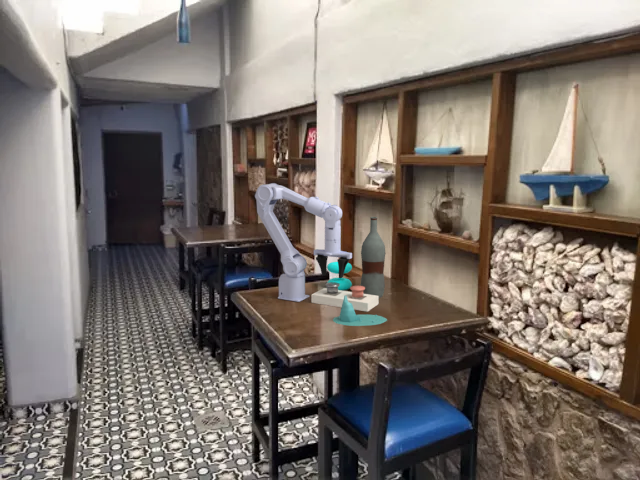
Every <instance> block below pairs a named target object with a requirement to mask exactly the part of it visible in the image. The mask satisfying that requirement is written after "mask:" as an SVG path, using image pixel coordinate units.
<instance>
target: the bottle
mask: <svg viewBox="0 0 640 480" xmlns="http://www.w3.org/2000/svg"><path fill="white" fill-rule="evenodd" d="M369 225H370V227H369V233H368V234H367V236H366V238H365V239H364V240H363V242H362V243H361V244H362V245H361V251H360V256H361V271H362V272H361V273H362V274H361V279H360V286H364V287H365V290H363V294H369V295H376V296H379V299H381V298H383V296H384V293H385V287H386V284H385V274H384V270H385V260H386V245H385V242H384V241H383V239H382V237H381V235H380V234H379V232H378V217H377V216H370V224H369Z"/></svg>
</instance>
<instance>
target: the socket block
mask: <svg viewBox="0 0 640 480" xmlns="http://www.w3.org/2000/svg"><path fill="white" fill-rule="evenodd" d="M344 295H346V296H347V299H348V302H350V303H352V305H353V308H354V311H360V312H361V311H362V312H366V313H368V312H370V311H371V310H372V309H373V308H375V307H376V306H378V305H379V304H380V303H379V302H380V301H379V299H380V298H379V296H376V295H369V294H363V297H360V298H356V297H352V291H348V290H338V293H336V294H329V293H327V287H323V288H321V289H320V290H318V291H316V292H314V293H312V294H311V297H310V298H311V303H312V304H317V305H318V304H319V305H324V306H331V307H337V308H342V304H343V300H344Z"/></svg>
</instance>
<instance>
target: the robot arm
mask: <svg viewBox="0 0 640 480" xmlns="http://www.w3.org/2000/svg"><path fill="white" fill-rule="evenodd" d="M254 198H255V200H256V212H257V215H258V216H259V218H260V220H261V222H262V224H263V225H264V227H265V229H266V231H267V232H268V234H269V236H270V238H271V240H272V242H273V243H274V244H275V247H276V249H277V250H278V252H279V254H280V262H281V264H282V270H283V272H284V273H282V274H280V276H279V278H278V297H277V299H279V300H285V301H292V302H298V303H300V302H302V301H303V300H306V299H308V298H309V297H310V295H309V294H306V273H305V270H306V269H307V268H306V267H307V266H308V261H307V259H306V258H305V257H304V256H303V255H302V254H301V253H300V251H299V250H297V249H296V248H295V247H294V246H293V244H292V242H291V240H290V239H289V237H288V236H287V233H286V232H285V230H284V229H283V227H282V224H281V223H280V222H279V220H278V218H277V216H276V214H275V213H274V209H275V205H276V204H277V201H279V200H283V199H284V200H286V201H290V202H292V203H295V204H297V205H299V206H302V207H304V210H305V212H308V213H310V214H312V215H314V216H316V217H319V218H321V219H323V221H324V249H313V256H316V257H315V260H316V262H317V264H318V265H319V268H320V272H321V276H323V277H325V276H326V275H327V271H328V269H327V265H328V258H329V257H331V258H332V257H333V258H337V261H336V262H338V266H339V274H338V278H344V274H345V273H344V271H345V268H346V265H347V263H349V261H350V259H352V258H353V253H352V252H347V251H343V250H342V249H341V245H342V243H341V240H342V238H341V235H342V233H341V232H342V231H341V229H342V227H341V219H342V217H343V210H342V208H341V207H340V206H339V205H337V204H332V202H329V201H328V202H326V201H324V200H322V199H320V197H319V196H310V197H307V196H304V195H302V194H300V193H298V192H296V191H294V190H293V189H290V188H288V187H286V186H284V185H279V184H277V183H275V182H272V183H268V184H266V183H265V184H261V185H259V186H258V187H257V189H256V191H255V194H254ZM310 298H311V297H310Z"/></svg>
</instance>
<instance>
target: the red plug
mask: <svg viewBox="0 0 640 480" xmlns="http://www.w3.org/2000/svg"><path fill="white" fill-rule="evenodd" d="M349 289H350V290H351V292H352V297H356V298H360V297H363V290H365V287H364V286H361V285H352V286H351V287H350V288H349Z"/></svg>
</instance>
